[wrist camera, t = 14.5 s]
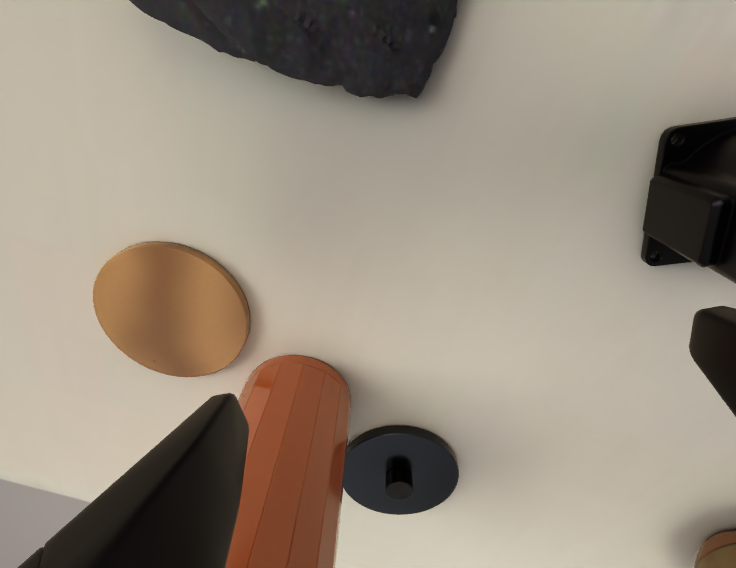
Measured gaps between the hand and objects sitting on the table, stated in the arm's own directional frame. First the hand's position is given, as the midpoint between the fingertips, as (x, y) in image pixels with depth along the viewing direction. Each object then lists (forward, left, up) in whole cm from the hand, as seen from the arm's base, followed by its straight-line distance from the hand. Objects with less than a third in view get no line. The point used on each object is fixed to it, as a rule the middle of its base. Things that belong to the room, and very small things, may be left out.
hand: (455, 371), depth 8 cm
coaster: (+14, +5, -13) cm, 20 cm away
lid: (+3, +19, -13) cm, 23 cm away
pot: (+8, +12, -13) cm, 19 cm away
